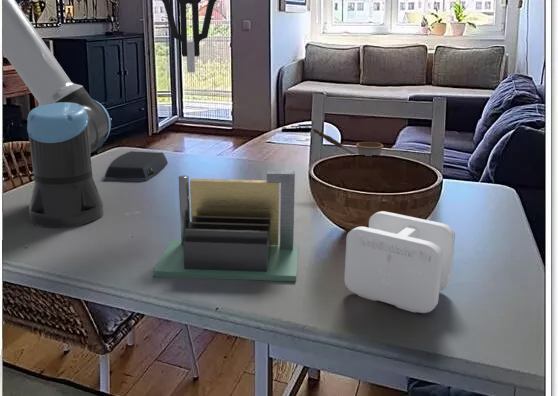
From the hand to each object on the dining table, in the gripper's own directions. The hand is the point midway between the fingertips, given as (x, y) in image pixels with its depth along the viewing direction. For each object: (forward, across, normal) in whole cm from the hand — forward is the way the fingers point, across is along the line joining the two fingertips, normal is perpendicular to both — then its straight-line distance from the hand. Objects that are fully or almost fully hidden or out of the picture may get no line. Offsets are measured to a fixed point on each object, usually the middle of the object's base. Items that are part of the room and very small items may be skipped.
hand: (191, 71), depth 133 cm
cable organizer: (+30, +28, -56) cm, 69 cm away
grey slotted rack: (+29, +4, -38) cm, 48 cm away
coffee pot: (+30, +37, -3) cm, 47 cm away
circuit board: (+29, +3, -39) cm, 49 cm away
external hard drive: (+30, -14, +27) cm, 43 cm away
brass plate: (+28, +5, -33) cm, 44 cm away
